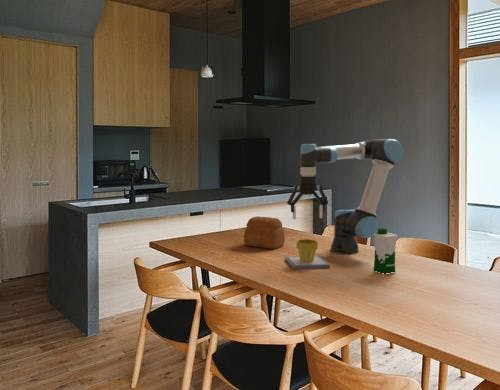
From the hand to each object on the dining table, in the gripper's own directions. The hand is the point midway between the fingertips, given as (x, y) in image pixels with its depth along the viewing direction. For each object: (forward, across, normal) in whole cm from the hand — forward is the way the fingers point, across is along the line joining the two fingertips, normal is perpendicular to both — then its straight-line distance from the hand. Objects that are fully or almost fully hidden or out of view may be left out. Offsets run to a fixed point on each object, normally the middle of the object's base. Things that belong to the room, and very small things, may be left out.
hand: (307, 218), depth 221 cm
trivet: (+23, 0, 0) cm, 23 cm away
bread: (+23, +14, -42) cm, 50 cm away
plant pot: (+21, 0, 0) cm, 21 cm away
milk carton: (+23, -32, +20) cm, 44 cm away
